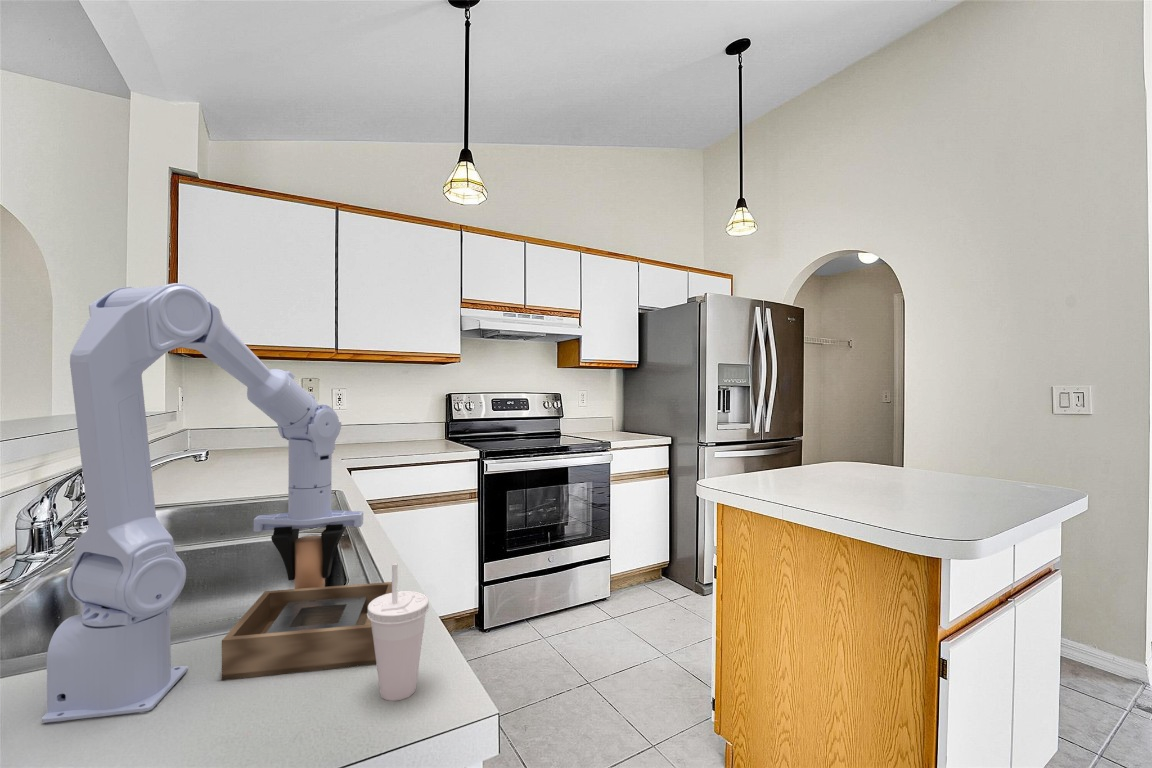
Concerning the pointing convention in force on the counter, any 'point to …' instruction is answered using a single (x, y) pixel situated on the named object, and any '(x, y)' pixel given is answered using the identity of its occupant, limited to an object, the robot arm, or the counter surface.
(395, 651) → the smoothie
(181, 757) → the counter surface
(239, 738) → the counter surface
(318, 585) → the peg
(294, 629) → the socket plate
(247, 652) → the socket box
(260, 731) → the counter surface
